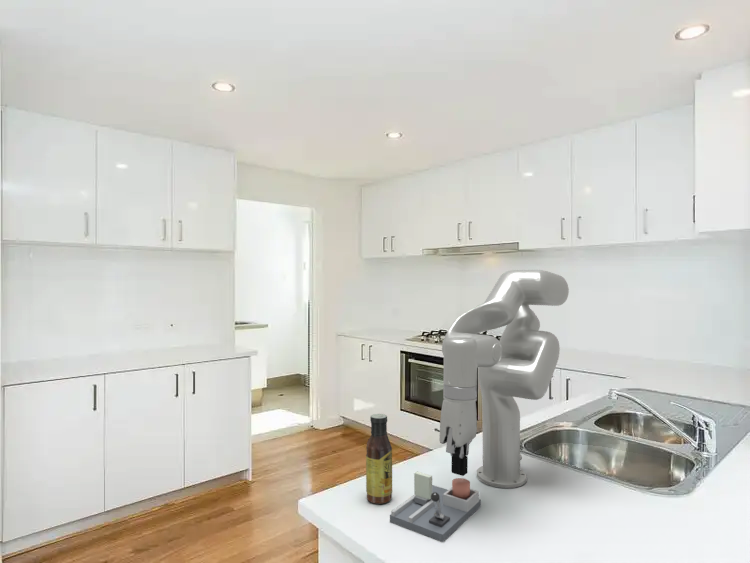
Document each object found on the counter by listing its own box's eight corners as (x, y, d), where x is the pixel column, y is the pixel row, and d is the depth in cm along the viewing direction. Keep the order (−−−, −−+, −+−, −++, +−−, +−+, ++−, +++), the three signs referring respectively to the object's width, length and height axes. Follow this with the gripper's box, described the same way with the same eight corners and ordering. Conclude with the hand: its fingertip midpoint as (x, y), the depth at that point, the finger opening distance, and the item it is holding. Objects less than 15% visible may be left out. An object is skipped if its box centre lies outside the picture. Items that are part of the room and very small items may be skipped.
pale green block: (419, 496, 110) (419, 470, 110) (434, 501, 107) (434, 474, 107) (412, 501, 107) (412, 474, 107) (427, 506, 105) (427, 478, 105)
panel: (431, 490, 116) (431, 475, 116) (480, 506, 108) (480, 489, 108) (389, 521, 102) (389, 504, 102) (442, 542, 94) (442, 523, 94)
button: (457, 489, 110) (457, 476, 110) (473, 494, 107) (473, 481, 107) (449, 495, 107) (449, 482, 107) (465, 500, 104) (465, 487, 104)
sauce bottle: (390, 506, 109) (389, 421, 108) (363, 504, 110) (362, 419, 110) (394, 493, 115) (393, 412, 115) (369, 491, 116) (368, 411, 116)
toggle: (437, 513, 101) (432, 489, 99) (445, 516, 99) (440, 491, 97) (433, 519, 99) (428, 495, 97) (442, 522, 98) (436, 497, 96)
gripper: (460, 384, 115) (459, 459, 115) (428, 395, 103) (428, 480, 103) (489, 388, 110) (488, 467, 110) (459, 401, 98) (459, 489, 98)
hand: (459, 473), depth 106 cm, fingers closed
